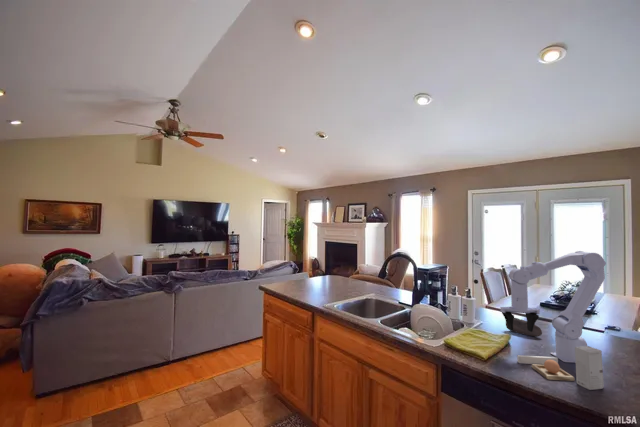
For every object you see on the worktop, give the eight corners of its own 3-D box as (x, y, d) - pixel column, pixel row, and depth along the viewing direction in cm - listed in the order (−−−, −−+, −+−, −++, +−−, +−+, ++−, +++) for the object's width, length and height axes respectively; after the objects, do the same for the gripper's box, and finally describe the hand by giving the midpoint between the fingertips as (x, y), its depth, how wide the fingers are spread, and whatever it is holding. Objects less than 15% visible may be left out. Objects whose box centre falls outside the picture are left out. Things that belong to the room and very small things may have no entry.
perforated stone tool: (544, 337, 138) (543, 323, 138) (540, 340, 134) (539, 325, 135) (509, 328, 150) (508, 315, 150) (504, 330, 147) (504, 316, 147)
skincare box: (590, 390, 92) (589, 352, 93) (575, 383, 97) (573, 346, 97) (604, 388, 94) (603, 350, 94) (589, 381, 98) (587, 345, 99)
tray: (556, 368, 107) (556, 365, 107) (574, 380, 98) (574, 377, 98) (531, 367, 107) (531, 364, 107) (547, 379, 99) (547, 375, 99)
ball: (551, 369, 105) (551, 357, 105) (563, 375, 101) (563, 362, 101) (541, 369, 105) (541, 357, 105) (552, 376, 100) (552, 363, 100)
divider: (555, 363, 111) (555, 357, 111) (558, 365, 109) (557, 358, 110) (517, 361, 112) (517, 355, 112) (519, 363, 111) (519, 356, 111)
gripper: (531, 296, 124) (532, 327, 123) (496, 294, 126) (497, 326, 125) (542, 300, 117) (543, 333, 116) (505, 298, 119) (506, 332, 118)
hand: (520, 330), depth 120 cm, fingers open, 7 cm apart
